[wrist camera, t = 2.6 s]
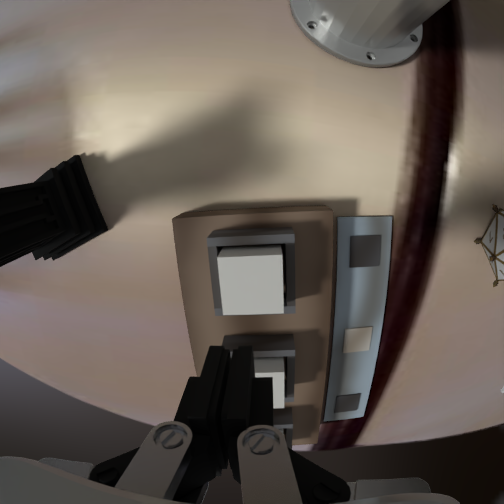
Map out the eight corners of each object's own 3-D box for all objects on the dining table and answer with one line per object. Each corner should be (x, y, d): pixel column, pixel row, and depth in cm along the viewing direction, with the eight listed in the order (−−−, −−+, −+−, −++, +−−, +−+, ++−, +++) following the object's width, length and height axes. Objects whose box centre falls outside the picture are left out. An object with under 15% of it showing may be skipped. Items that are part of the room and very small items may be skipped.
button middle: (283, 353, 23) (284, 372, 21) (283, 389, 24) (284, 408, 22) (233, 354, 23) (230, 372, 21) (237, 390, 24) (235, 408, 22)
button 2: (280, 244, 20) (282, 254, 18) (282, 298, 21) (283, 313, 19) (222, 247, 21) (217, 257, 18) (227, 300, 22) (223, 315, 19)
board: (390, 204, 24) (419, 214, 18) (361, 419, 31) (370, 451, 25) (182, 212, 25) (161, 224, 20) (216, 427, 32) (210, 459, 27)
